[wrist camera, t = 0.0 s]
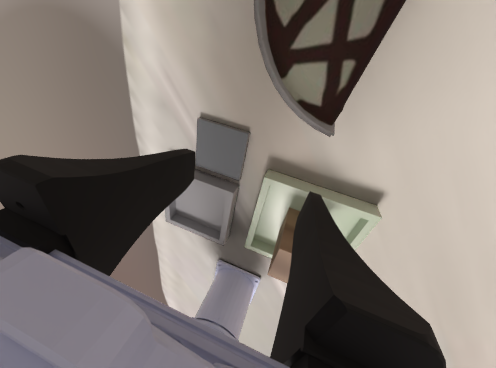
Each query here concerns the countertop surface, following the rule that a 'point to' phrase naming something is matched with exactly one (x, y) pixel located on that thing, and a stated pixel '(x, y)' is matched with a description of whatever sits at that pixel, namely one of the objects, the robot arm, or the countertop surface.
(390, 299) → the robot arm
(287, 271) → the walnut block
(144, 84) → the countertop surface
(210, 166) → the slate coaster
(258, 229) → the green tray
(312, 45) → the food container
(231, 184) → the grey tray
